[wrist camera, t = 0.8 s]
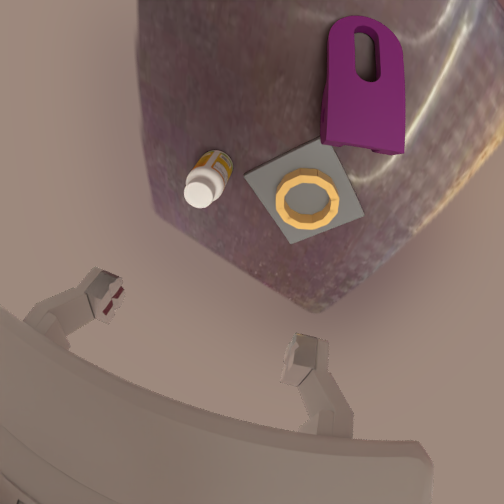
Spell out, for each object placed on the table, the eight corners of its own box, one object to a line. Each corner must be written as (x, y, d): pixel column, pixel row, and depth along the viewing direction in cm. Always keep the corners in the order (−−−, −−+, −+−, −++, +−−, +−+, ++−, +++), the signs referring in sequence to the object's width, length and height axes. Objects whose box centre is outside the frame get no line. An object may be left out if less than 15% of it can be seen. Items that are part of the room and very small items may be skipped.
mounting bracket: (322, 37, 32) (318, 147, 37) (328, 10, 24) (325, 140, 29) (382, 48, 31) (382, 156, 36) (400, 25, 23) (404, 153, 28)
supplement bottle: (198, 176, 45) (177, 207, 37) (202, 146, 41) (179, 173, 34) (230, 183, 45) (215, 217, 38) (236, 153, 41) (220, 182, 34)
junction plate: (244, 173, 43) (240, 183, 41) (325, 133, 37) (327, 141, 34) (290, 240, 51) (290, 253, 48) (363, 212, 44) (367, 224, 42)
